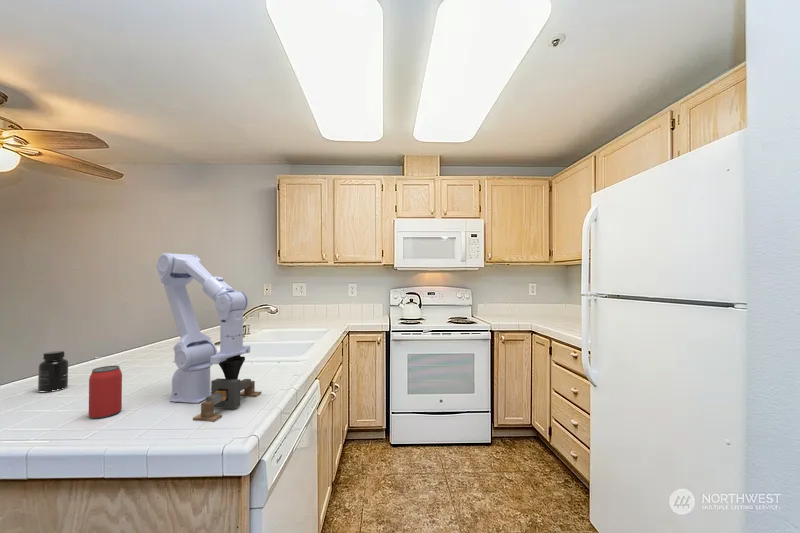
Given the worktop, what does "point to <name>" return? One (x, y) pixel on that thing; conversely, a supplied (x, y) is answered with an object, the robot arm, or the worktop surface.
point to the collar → (233, 392)
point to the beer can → (105, 391)
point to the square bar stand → (222, 395)
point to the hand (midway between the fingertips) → (231, 384)
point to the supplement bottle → (53, 372)
